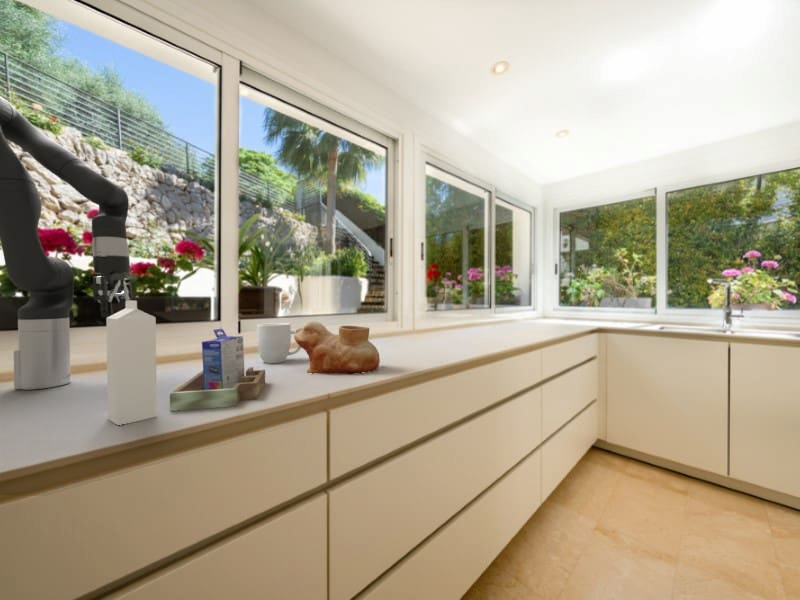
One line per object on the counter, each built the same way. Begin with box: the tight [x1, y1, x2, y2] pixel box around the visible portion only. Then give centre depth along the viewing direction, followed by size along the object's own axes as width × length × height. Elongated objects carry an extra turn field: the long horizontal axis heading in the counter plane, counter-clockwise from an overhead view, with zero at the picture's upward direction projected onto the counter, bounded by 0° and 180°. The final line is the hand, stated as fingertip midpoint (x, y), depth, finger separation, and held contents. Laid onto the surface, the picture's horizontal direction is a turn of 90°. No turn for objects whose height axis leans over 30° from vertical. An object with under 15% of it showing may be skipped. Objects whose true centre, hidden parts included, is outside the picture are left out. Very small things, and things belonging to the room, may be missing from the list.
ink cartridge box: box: [201, 328, 246, 390], centre depth 88 cm, size 10×6×14 cm, turn 174°
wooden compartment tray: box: [169, 366, 266, 412], centre depth 82 cm, size 16×23×4 cm
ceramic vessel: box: [293, 320, 381, 375], centre depth 107 cm, size 14×26×15 cm, turn 88°
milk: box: [105, 300, 158, 426], centre depth 65 cm, size 6×6×22 cm
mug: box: [256, 322, 302, 364], centre depth 121 cm, size 15×11×13 cm
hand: (116, 316), depth 94 cm, fingers open, 8 cm apart
